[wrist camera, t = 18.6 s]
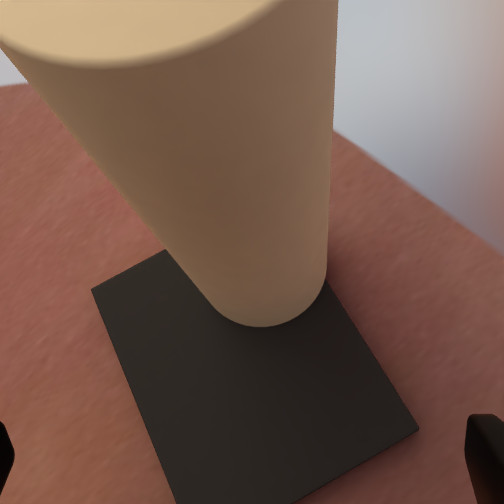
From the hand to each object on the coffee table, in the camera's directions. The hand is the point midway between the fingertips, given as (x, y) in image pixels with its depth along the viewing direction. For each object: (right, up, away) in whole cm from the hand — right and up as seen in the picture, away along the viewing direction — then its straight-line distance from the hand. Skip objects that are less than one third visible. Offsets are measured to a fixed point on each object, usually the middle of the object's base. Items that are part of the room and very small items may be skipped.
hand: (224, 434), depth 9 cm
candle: (+1, +3, +9) cm, 9 cm away
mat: (0, 0, +8) cm, 8 cm away
